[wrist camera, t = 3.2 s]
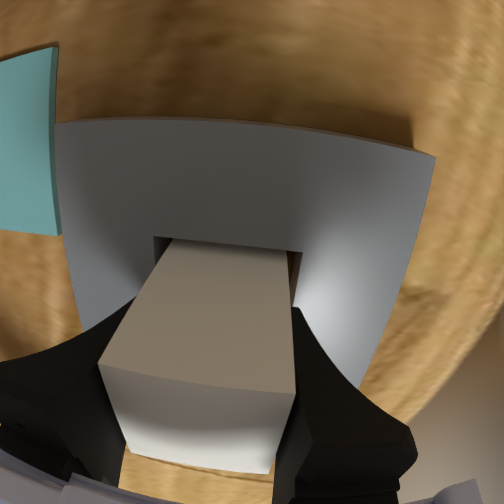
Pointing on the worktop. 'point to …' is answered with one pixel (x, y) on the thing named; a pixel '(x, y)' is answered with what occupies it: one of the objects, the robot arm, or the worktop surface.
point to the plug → (206, 358)
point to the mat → (29, 144)
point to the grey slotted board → (244, 213)
